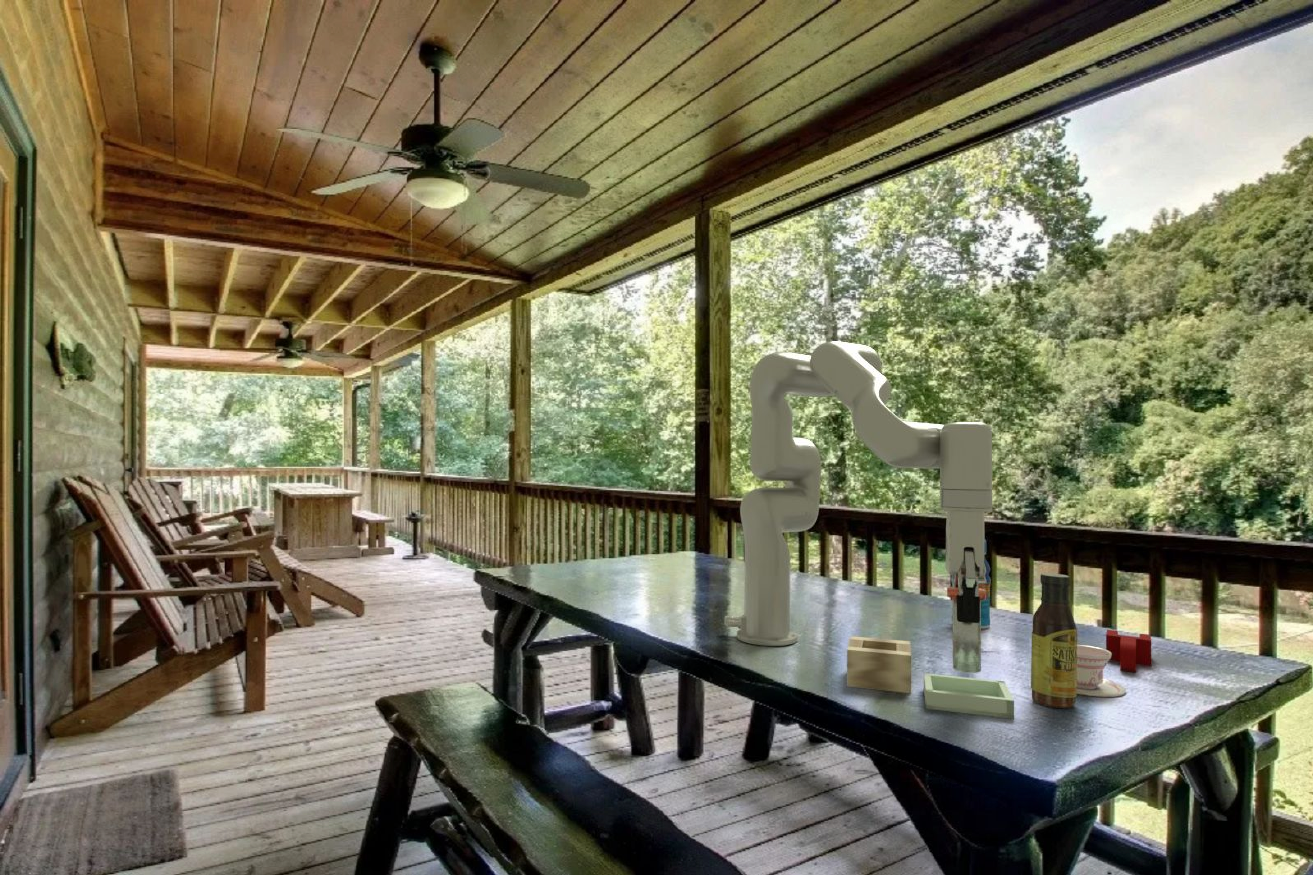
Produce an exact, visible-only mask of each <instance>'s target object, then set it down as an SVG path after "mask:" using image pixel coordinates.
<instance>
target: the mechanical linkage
mask: <svg viewBox="0 0 1313 875" xmlns="http://www.w3.org/2000/svg"><path fill="white" fill-rule="evenodd" d="M1105 650H1108V651H1110V652H1111V653H1112V655H1111V659H1110V660H1109V661H1110V662H1118V663H1119V666H1120V668H1119V669H1120V671H1122V672H1123V671H1125V672H1129V673H1130V672H1132V673H1137V666H1138V665H1139V666H1145V667H1147V666H1148V667H1151V668H1152V636H1151V634H1148V633H1147V634H1146V633H1139V637H1138V636H1130V635H1123V634H1119V633H1118V630H1115V629H1113V630H1112V629H1106V634H1105ZM1109 661H1108V662H1109Z"/></svg>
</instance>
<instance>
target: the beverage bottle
mask: <svg viewBox="0 0 1313 875" xmlns="http://www.w3.org/2000/svg"><path fill="white" fill-rule="evenodd" d="M984 555H987V540H986V539H984ZM990 572H991V567H990V564H989V562H988V561H987V559H986V557H984V570H983V575H982V576H980V577H978V585H979V588H980V589H984V590H986V600H981V630H985V629H988V628H990V627H991V615H990V613H991V611H990V610H991V609H990V608H991V607H990V606H991V604H990V603H991V601H990V600H991V598H990V597H991V596H990V595H991V588H990V587H991V584H992V583H991V582H992V581H991V580H992V579H991V577H990ZM950 576H951V577H950V581H951V582H950V583H951V587H955V572H954V574H953V575H950ZM951 599H952V600H951V602H952V604H951V605H952V608H951V611H952V612H951V623H952V624H953V598H951Z"/></svg>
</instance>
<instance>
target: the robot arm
mask: <svg viewBox="0 0 1313 875" xmlns="http://www.w3.org/2000/svg"><path fill="white" fill-rule="evenodd" d="M882 369H883V368H882V361H881V358H880V355H878V353H877V352H876V350H874V349H873V348H872V347H870V346H867V345H864V344H859V343H851V342H846V341H845V342H844V341H838V340H837V341H835V340H832V341H827V342H823V343H821V344H820V345H818V346H816V348H814V350H813V351H812V353H811V354H810V355H807V354H802V353H797V352H795V353H794V352H786V351H783V352H781V351H780V352H772V353H769V354H767V355H765V356H763V357H761V358H760V360H759V361H757V362H756V364H755V366H754V368H753V370H752V373H751V376H750V379H749V396H750V404H751V429H750V431H751V432H750V453H749V454H750V455H749V456H750V457H749V458H750V459H749V464H750V472H751V474H752V475H753V476H754V477H755V478H756V479H757V480H760V481H766V482H785V487H779V486H777V487H758V488H755V489H752V490H750V491H748V492H747V493H746V494H745V495H744V496H743V498H742V500H741V503H740V507H739V512H740V513H739V514H740V522H741V525H742V531H743V538H744V540H743V541H744V542H743V543H744V593H743V594H744V595H743V597H744V598H743V600H744V602H743V603H744V605H743V606H744V607H743V612H744V613H743V615H739V616H731V615H724V619H723V623H724V626H727V627H729V628H738V630H737V631H736V639H738V640H739V641H741V642H743V643H747V644H751V645H756V646H764V647H765V646H766V647H767V646H769V647H777V646H781V647H782V646H788V645H792V644H795V643H796V642H797V641H798V633H796V632H794V631H792V630H791V553H790V552H791V551H790V548H789V546H788V542H787V541H786V539H785V537H784V535H783V533H794V532H795V533H796V532H805V531H807V530H809V529H811V528H812V527H814V525H815V523H816V521H817V519H818V516H819V511H820V499H821V498H820V496H821V494H820V493H821V479H822V477H821V476H822V475H821V474H822V460H821V456H820V455H821V454H820V452H819V450H818V447H817V446H816V445H815V444H814V443H813V441H811V440H809V439H807V438H805V437H798V436H795V437H794V436H793V422H794V421H793V420H794V419H793V413H792V412H793V411H792V410H791V406H790V405H789V402H788V401H787V399H786V398H785V396H788V395H789V396H796V397H797V396H799V397H811V398H826V397H835V398H836V399H837V400H838V401H839V402H840V403H841V404H842V405H844V407H846V408H847V409H848V411H849V412H851V420H852V424H853V428H854V431H855V434H856V436H857V437H858V438H859V440H860V441H861V442H862V444H864V446H866V447H867V448H868V449H869V450H870V451H871V452H872V453H873V454H874V455H875V456H876V457H877V458H878V459H879V460H881V461H882V462H884V463H886V464H887V465H889V466H891V467H894V468H899V469H923V470H925V469H927V470H929V469H930V470H933V469H934V470H936V469H937V470H938V469H939V471H940V472H939V482H940V483H939V506H940V507H939V510H941V511H946V520H945V521H946V522H945V523H946V524H945V570H946V572H947V573H948V574H949V575H950V576H952V575H953V574H954V572H955V586H958V589H959V595H957V621H959V622H968V623H979V622H980V596H979V585H978V577H980V576H982V575H983V570H984V558H985V554H984V540H985V513H991V512H993V440H992V439H993V435H992V434H993V433H992V429H991V427H990V426H989V424H987V423H985V422H977V421H957V422H949V423H945V424H939V423H926V422H913V421H904V420H903V419H901V418H900V417H899V416H897V415H896V414H895V413H894V412H893V411H892V410H890V409H889V408H888V407H887V406H886V404H887V402H888V401H889V399H890V398H891V394H892V385H891V382H890V381H889V380H888V378H886V376H884V375H883V374H881V373H882Z"/></svg>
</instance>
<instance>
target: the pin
mask: <svg viewBox="0 0 1313 875" xmlns="http://www.w3.org/2000/svg"><path fill="white" fill-rule="evenodd" d="M957 595H959V589H958V586H955V587H952V586H949V587H948V586H947V587H946V597H948V598H950V599H952V598H953V623H952V669H954V670H955V671H958V672H963V673H980V672H982V648H981V647H982V642H981V641H982V638H981V636H982V634H981V633H982V632H981V631H982V629H981V600H986V590H984V589H980V588H979V596H980V622H979V623H968V622H959V621H957Z"/></svg>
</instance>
